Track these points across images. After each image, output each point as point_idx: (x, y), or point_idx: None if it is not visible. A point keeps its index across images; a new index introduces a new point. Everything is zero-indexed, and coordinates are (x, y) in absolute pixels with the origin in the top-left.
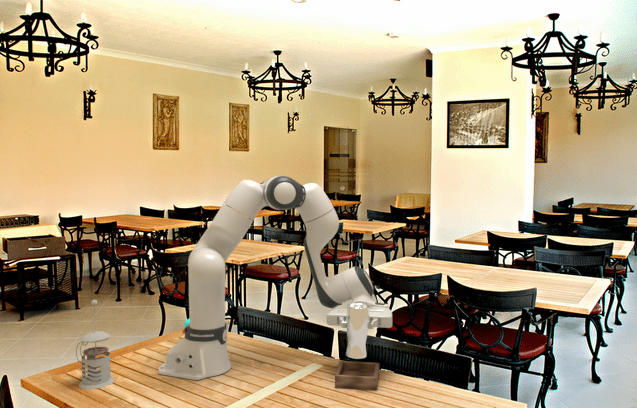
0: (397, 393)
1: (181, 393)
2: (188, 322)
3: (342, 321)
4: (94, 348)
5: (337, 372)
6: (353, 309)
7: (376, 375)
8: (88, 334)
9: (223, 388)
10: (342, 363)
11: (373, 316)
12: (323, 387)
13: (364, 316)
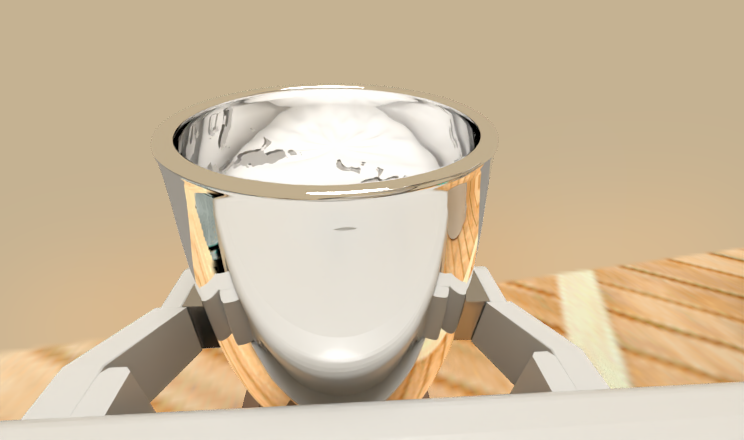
0: (182, 386)
1: (734, 285)
2: None
3: (483, 274)
4: None
5: (423, 397)
6: (374, 103)
7: (247, 399)
8: None
9: (698, 321)
10: None
11: (76, 418)
12: (453, 383)
13: (271, 168)
